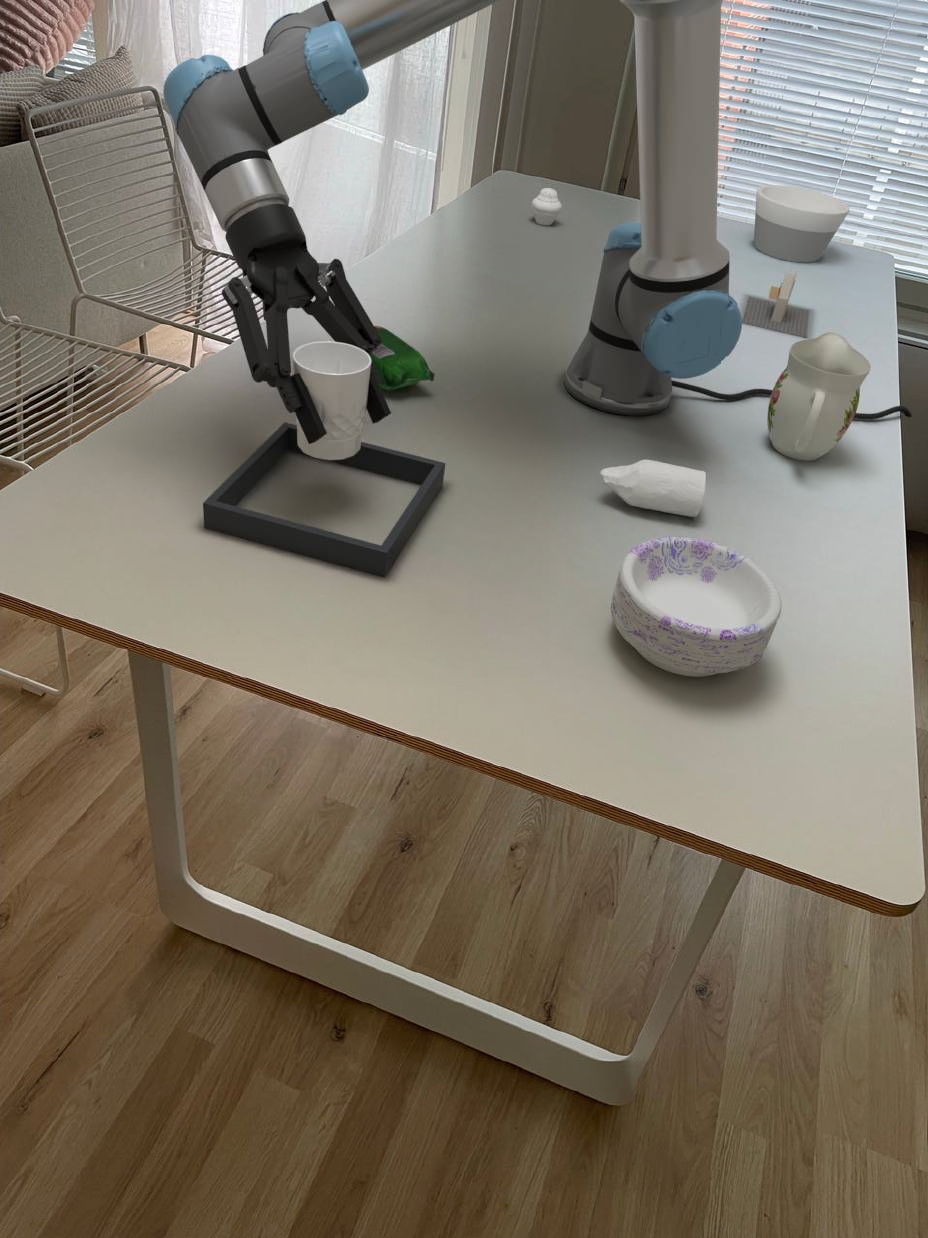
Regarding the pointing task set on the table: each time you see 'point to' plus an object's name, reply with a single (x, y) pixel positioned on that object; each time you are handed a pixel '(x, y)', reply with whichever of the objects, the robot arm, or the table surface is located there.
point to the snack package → (398, 362)
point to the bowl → (796, 222)
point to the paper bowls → (694, 606)
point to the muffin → (546, 206)
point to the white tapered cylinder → (658, 486)
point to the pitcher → (816, 396)
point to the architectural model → (778, 310)
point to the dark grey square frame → (313, 540)
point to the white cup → (334, 395)
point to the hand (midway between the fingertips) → (350, 428)
